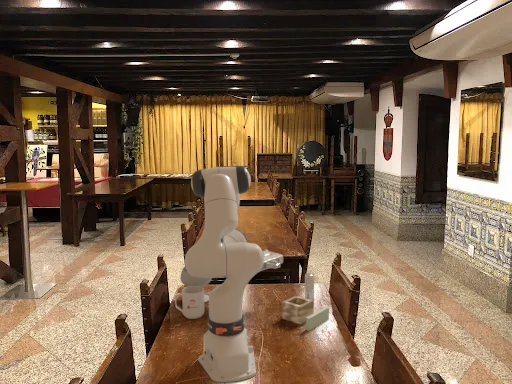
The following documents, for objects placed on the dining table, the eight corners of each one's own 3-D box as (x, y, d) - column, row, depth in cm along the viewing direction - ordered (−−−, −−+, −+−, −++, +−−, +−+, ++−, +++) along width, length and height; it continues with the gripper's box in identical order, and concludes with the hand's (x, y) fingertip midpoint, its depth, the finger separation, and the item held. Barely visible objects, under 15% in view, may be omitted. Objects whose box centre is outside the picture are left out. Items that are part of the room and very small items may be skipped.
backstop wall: (305, 330, 167) (305, 317, 167) (325, 318, 178) (325, 306, 177) (309, 331, 166) (309, 318, 166) (328, 319, 177) (329, 307, 176)
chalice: (208, 292, 208) (207, 262, 206) (215, 303, 195) (214, 270, 193) (179, 296, 204) (178, 265, 202) (183, 307, 191) (182, 273, 189)
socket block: (282, 318, 178) (282, 301, 177) (295, 311, 184) (295, 295, 183) (300, 324, 172) (300, 307, 171) (313, 317, 178) (313, 300, 178)
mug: (204, 310, 187) (203, 285, 186) (204, 319, 178) (204, 292, 177) (175, 312, 185) (174, 286, 184) (174, 321, 177) (173, 294, 175)
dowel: (315, 307, 190) (315, 275, 188) (306, 308, 189) (306, 276, 187) (311, 303, 194) (312, 272, 192) (303, 304, 193) (303, 273, 191)
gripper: (236, 258, 183) (262, 264, 174) (268, 248, 198) (292, 253, 189) (237, 272, 184) (262, 279, 175) (268, 262, 199) (292, 267, 190)
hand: (278, 266), depth 182 cm, fingers closed
